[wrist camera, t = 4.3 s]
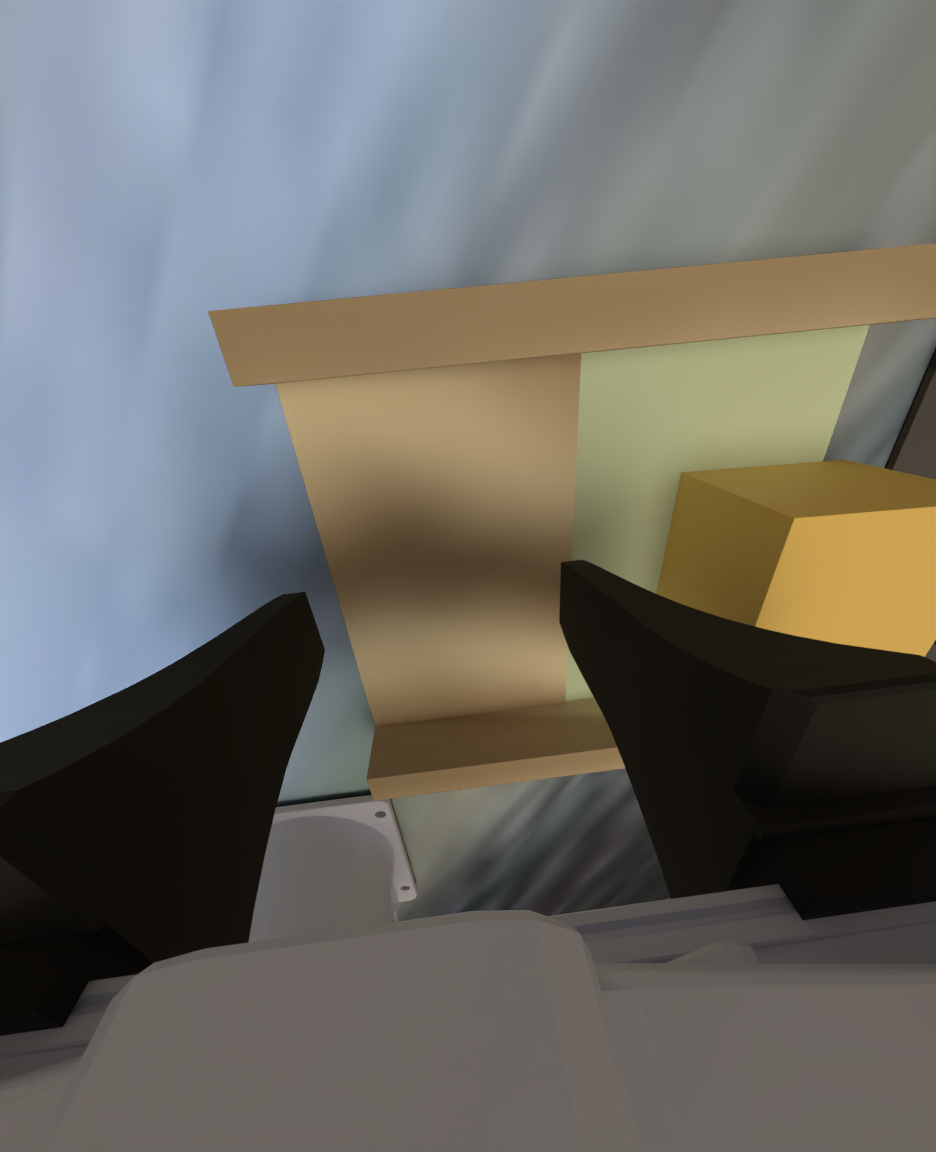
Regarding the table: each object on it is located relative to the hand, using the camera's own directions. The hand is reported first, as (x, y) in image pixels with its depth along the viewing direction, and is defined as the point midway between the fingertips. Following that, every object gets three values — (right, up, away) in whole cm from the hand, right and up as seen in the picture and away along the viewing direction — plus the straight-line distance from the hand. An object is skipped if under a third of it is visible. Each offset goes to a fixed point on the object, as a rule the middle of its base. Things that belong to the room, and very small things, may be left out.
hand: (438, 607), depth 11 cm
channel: (+4, +1, +2) cm, 5 cm away
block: (+10, +2, +2) cm, 10 cm away
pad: (+8, +2, +2) cm, 8 cm away
